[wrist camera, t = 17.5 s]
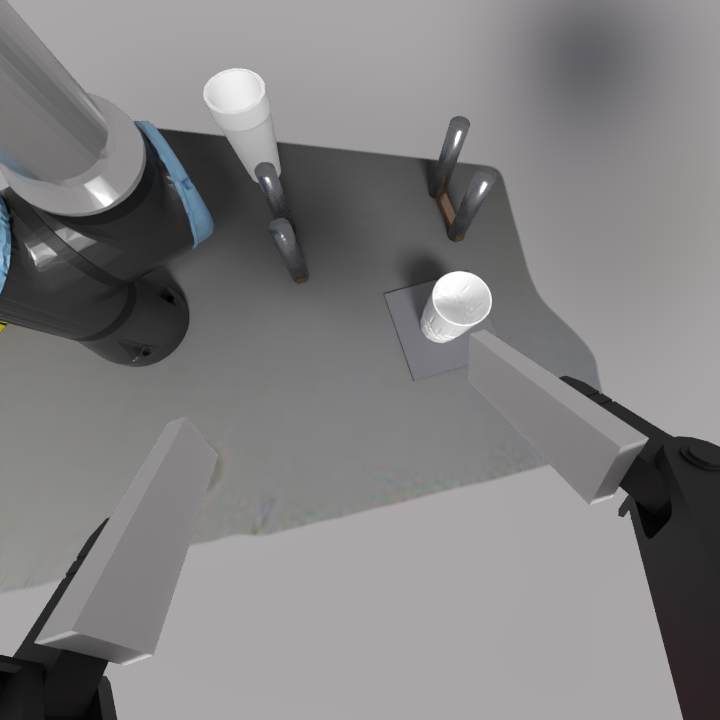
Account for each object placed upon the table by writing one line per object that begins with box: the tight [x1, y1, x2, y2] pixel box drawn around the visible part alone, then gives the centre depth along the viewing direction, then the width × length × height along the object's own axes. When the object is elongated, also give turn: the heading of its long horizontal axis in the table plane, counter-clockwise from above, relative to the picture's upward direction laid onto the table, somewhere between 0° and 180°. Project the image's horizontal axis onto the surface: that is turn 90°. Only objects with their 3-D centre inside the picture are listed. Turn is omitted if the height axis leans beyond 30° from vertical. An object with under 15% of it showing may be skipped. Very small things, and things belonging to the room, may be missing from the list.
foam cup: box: [203, 68, 281, 183], centre depth 45 cm, size 10×9×13 cm
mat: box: [384, 271, 499, 381], centre depth 44 cm, size 16×16×1 cm
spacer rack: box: [254, 116, 496, 284], centre depth 42 cm, size 33×13×12 cm, turn 107°
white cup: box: [420, 271, 492, 343], centre depth 39 cm, size 8×8×10 cm
